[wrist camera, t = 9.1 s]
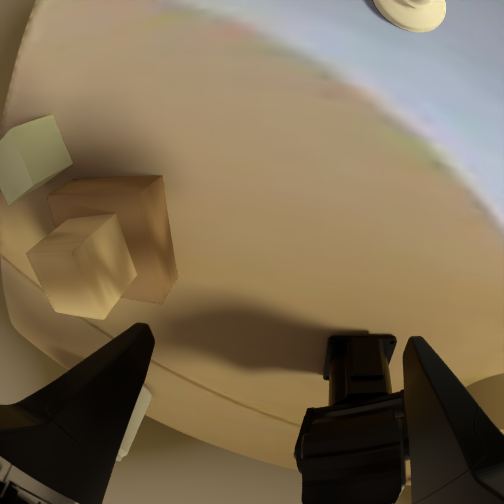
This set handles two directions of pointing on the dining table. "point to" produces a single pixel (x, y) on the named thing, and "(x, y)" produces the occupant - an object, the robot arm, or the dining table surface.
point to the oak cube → (84, 265)
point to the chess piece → (413, 13)
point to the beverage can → (135, 421)
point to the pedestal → (127, 225)
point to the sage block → (31, 157)
